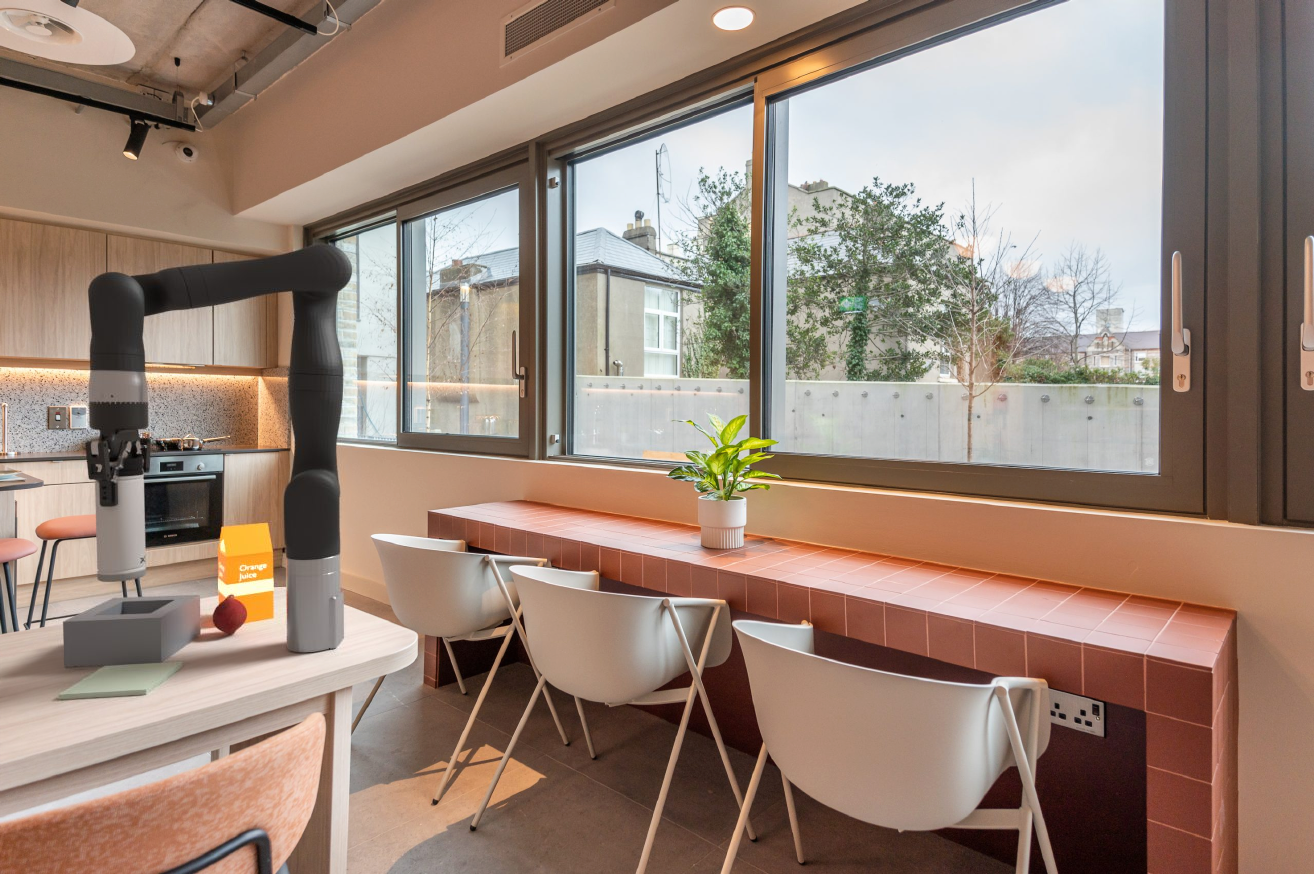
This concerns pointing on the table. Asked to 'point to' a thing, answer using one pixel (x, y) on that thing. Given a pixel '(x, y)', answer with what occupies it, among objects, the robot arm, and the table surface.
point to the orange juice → (247, 569)
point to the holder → (131, 630)
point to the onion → (229, 615)
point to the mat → (122, 680)
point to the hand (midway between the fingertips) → (121, 503)
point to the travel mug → (122, 527)
